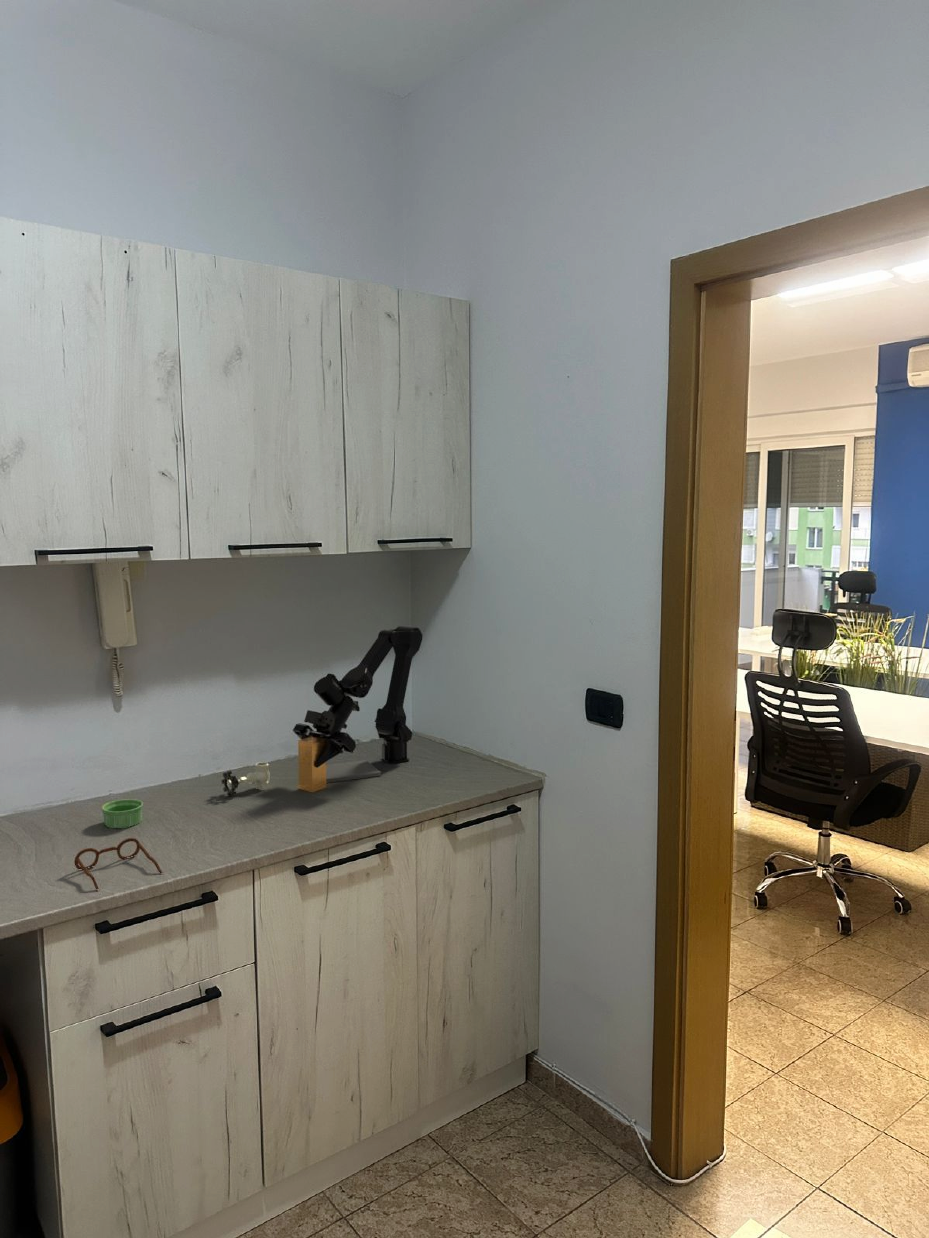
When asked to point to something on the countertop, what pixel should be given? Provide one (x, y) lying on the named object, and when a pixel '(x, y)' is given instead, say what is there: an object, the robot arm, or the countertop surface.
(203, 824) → the countertop surface
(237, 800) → the countertop surface
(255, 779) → the valve
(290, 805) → the countertop surface
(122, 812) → the ramekin
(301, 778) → the wooden block
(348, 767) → the rubber mat
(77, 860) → the glasses
